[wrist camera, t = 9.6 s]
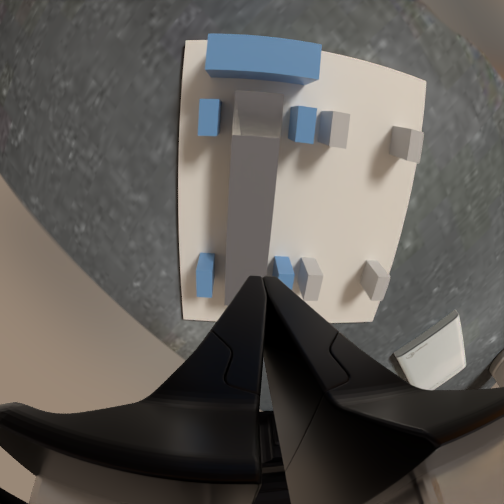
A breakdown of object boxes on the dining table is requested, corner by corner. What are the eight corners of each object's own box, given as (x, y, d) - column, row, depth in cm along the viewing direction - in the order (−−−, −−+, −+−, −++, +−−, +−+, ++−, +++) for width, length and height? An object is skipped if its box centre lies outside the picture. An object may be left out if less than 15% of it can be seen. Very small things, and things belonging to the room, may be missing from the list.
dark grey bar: (260, 286, 21) (262, 306, 19) (225, 284, 21) (224, 305, 19) (277, 97, 16) (284, 94, 13) (235, 93, 15) (235, 90, 13)
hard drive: (396, 359, 26) (418, 400, 30) (460, 314, 24) (467, 366, 28) (391, 348, 27) (413, 391, 32) (452, 305, 25) (462, 358, 30)
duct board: (370, 318, 24) (385, 346, 21) (184, 316, 23) (177, 347, 20) (423, 81, 15) (454, 80, 12) (187, 41, 14) (175, 26, 11)
